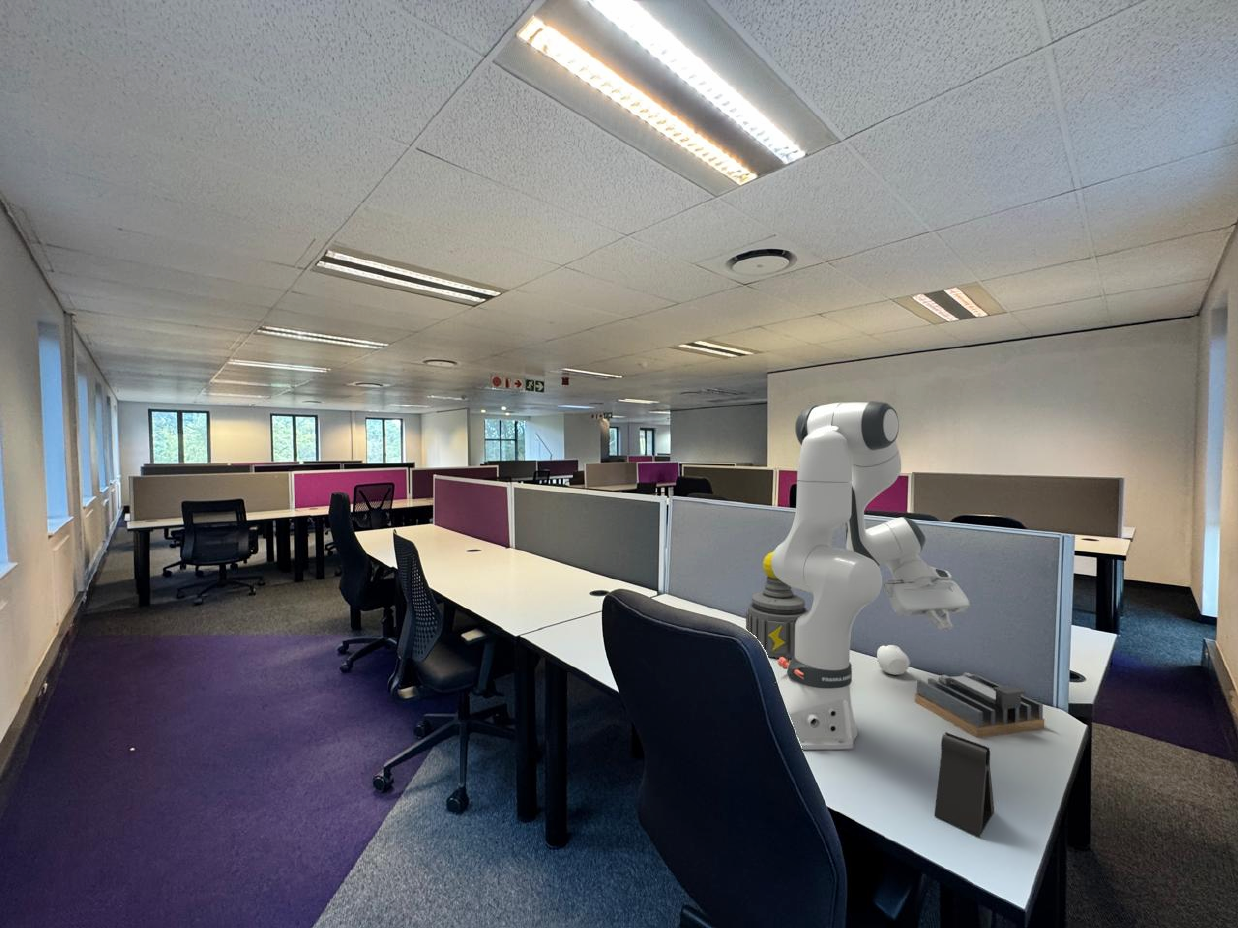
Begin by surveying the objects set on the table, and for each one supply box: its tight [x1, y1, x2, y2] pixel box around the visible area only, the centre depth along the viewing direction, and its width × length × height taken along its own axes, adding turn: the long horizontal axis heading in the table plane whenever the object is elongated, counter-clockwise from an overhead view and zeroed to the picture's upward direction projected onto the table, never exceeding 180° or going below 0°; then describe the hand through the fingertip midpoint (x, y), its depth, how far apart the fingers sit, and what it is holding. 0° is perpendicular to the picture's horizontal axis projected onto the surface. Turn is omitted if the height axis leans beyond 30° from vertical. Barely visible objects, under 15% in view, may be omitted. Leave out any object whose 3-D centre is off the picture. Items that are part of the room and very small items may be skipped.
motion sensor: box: [876, 644, 911, 676], centre depth 136 cm, size 8×8×8 cm
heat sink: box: [914, 672, 1045, 738], centre depth 113 cm, size 18×17×9 cm
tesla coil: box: [745, 550, 809, 660], centre depth 153 cm, size 19×19×30 cm
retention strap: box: [951, 675, 996, 704], centre depth 113 cm, size 5×12×1 cm, turn 13°
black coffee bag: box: [934, 731, 995, 838], centre depth 81 cm, size 9×6×12 cm, turn 131°
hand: (946, 628), depth 122 cm, fingers closed
